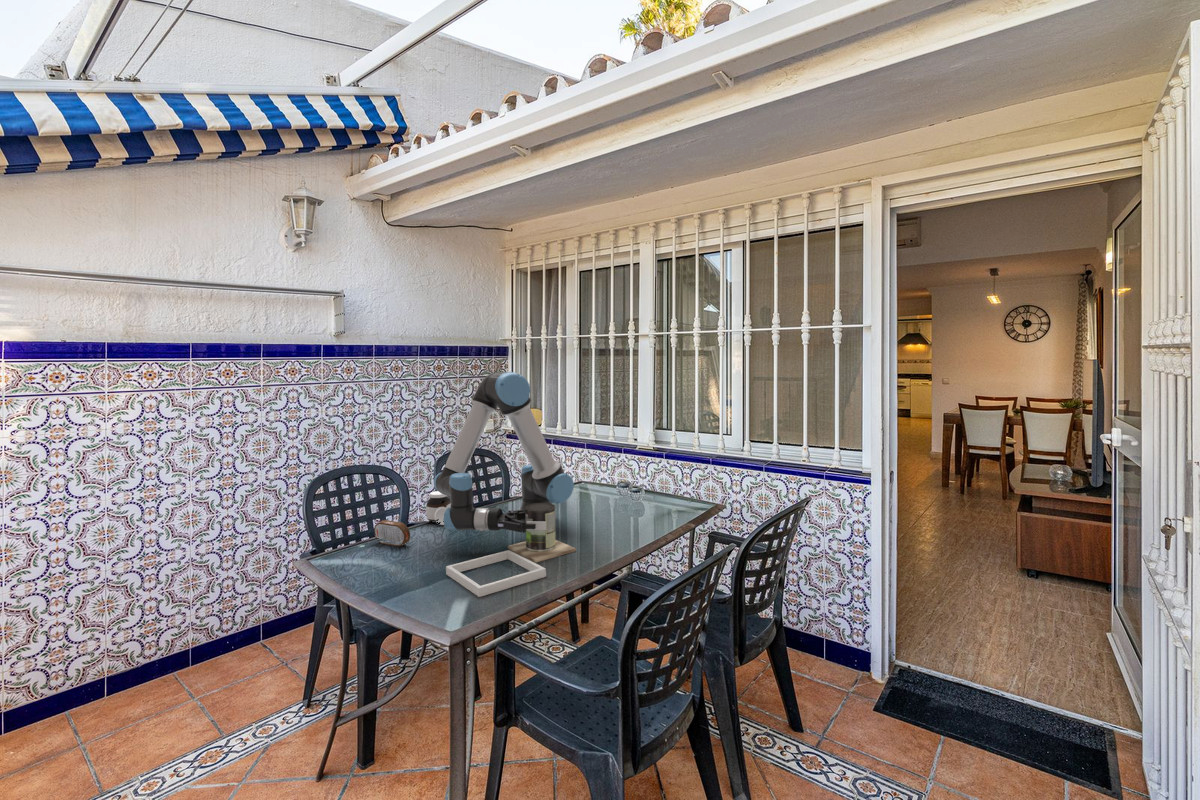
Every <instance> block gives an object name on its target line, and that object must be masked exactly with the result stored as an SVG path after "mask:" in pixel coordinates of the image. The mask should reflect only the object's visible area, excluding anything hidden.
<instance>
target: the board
mask: <svg viewBox="0 0 1200 800" xmlns="http://www.w3.org/2000/svg"><path fill="white" fill-rule="evenodd" d="M555 543H556V547H555V548H554V549H552V550H550V551H545V552H533V551H529V550H527V549H526V540H525V541H521V542H518V543H517V542H516V543H513V544H509V545H508V546H507V550H510V551H512V552H514V553H516V554H518V555H520V556H522V557H524V558H526V559H528V560H530V561H532V562H534V563H539V562H543V561H546V560H550V559H553V558H557V557H560V556H564V555H567V554H571V553H575V552H577V548H576V547H574V546H571V545H570V544H567V543H564V542H562V541H559V540H557V539H555Z"/></svg>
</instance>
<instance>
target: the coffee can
mask: <svg viewBox="0 0 1200 800" xmlns="http://www.w3.org/2000/svg"><path fill="white" fill-rule="evenodd" d="M525 513H526V522H527V521H546V530H526V533H525V541H526V549H527V550H529V551H533V552H545V551H550V550H552V549H554V548H555V547H556V543H555V540H556V520H555V513H556V505H555V504H554V503H552V504H549V503H534V504H530V505H527V506H526V507H525Z"/></svg>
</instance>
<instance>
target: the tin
mask: <svg viewBox="0 0 1200 800" xmlns="http://www.w3.org/2000/svg"><path fill="white" fill-rule="evenodd" d="M373 529H374V530H373V531H374V537H375V539H376V538H379V539H383V540H386V541H391V542H395V543H390V542H384V541H378V542H379V543H380V544H381V545H387V546H393V547H403V546H405V545H407V544H408V543H409V542H410V540H411V532H410V530H409V527H408V526H407V525H406V524H405V523H403V522H402V521H401V522H400V521H394V520H389V519H388V520H387V519H383V520H381V521H379V522H377V523H376V524H375V525H374V528H373ZM407 542H408V543H407ZM397 543H401V544H397ZM405 543H406V544H405ZM402 544H403V545H402Z"/></svg>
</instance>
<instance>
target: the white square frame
mask: <svg viewBox="0 0 1200 800" xmlns="http://www.w3.org/2000/svg"><path fill="white" fill-rule="evenodd" d="M507 560H509V561H511V562H512V563H514V564H516V565H517V566H520V567H522V568H524V569H525V570H527V572H523V573H520V574H516V575H513V576H510V577H507V578H503V579H500V580H497V581H492V582H489V583H486V584H482V585H480V584H478V583H477V582H476V581H474V580H473V579H472V578H470V577H468V576H466V575H465V574H464V573H462V572H466V571H469V570H473V569H476V568H477V569H478V568H480V567H483V566H486V565H487V566H489V565H492V564H494V563H495V564H496V563H499V562H502V561H507ZM546 571H547V569H546V568H545V567H543V566H541V565H539V564H538V563H537V562H534V561H532V560H530V559H528V558H526V557H524V556H522V555H520V554H518V553H516V552H514V551H512V550H510V549H507V550H504V551H499V552H496V553H492V554H489V555H484V556H482V557H477V558H473V559H468V560H465V561H461V562H459V563H458V562H457V563H453V564H450V565H447V566H445V573H446V574H445V575H446V576H448V577H449V578H451V579H452V580H454V581H455V582H457V583H458V584H460V586H462V587H464V588H465V589H467V590H468V591H470V592H471V593H473V594H474V595H475V596H476V597H479V598H481V597H484V596H487V595H491V594H494V593H498V592H500V591H504V590H507V589H510V588H514V587H516V586H520V585H524V584H526V583H530V582H533V581H536V580H541V579H543V578H545V577H547V572H546Z"/></svg>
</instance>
